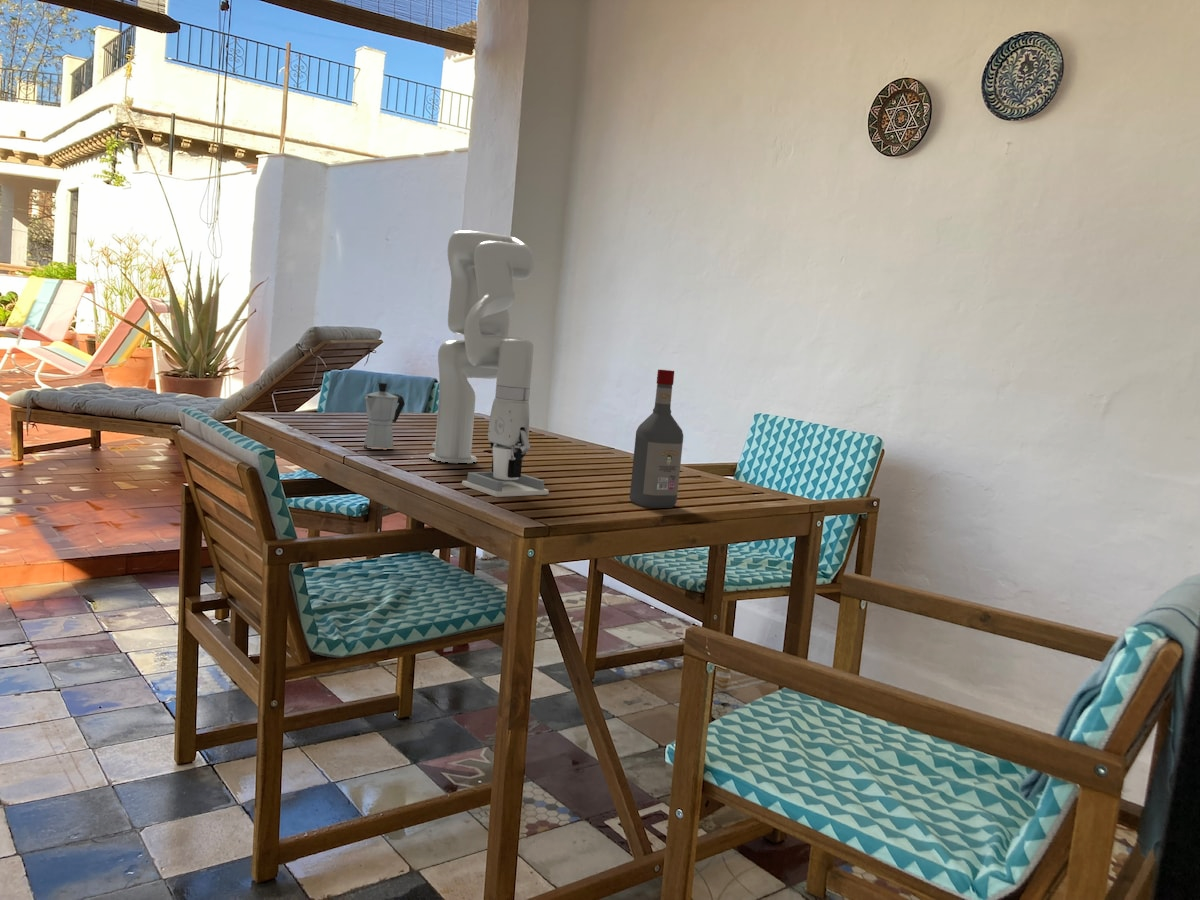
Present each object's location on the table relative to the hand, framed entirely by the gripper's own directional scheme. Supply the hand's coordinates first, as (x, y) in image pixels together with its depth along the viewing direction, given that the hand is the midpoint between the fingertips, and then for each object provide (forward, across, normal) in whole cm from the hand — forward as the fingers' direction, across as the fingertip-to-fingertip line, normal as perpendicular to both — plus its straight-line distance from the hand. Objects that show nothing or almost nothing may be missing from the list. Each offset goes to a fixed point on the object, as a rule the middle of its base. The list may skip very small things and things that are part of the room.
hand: (505, 474), depth 211 cm
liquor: (+4, +22, +25) cm, 34 cm away
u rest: (+4, 0, 0) cm, 4 cm away
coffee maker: (+4, -63, +1) cm, 63 cm away
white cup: (+1, 0, 0) cm, 1 cm away
